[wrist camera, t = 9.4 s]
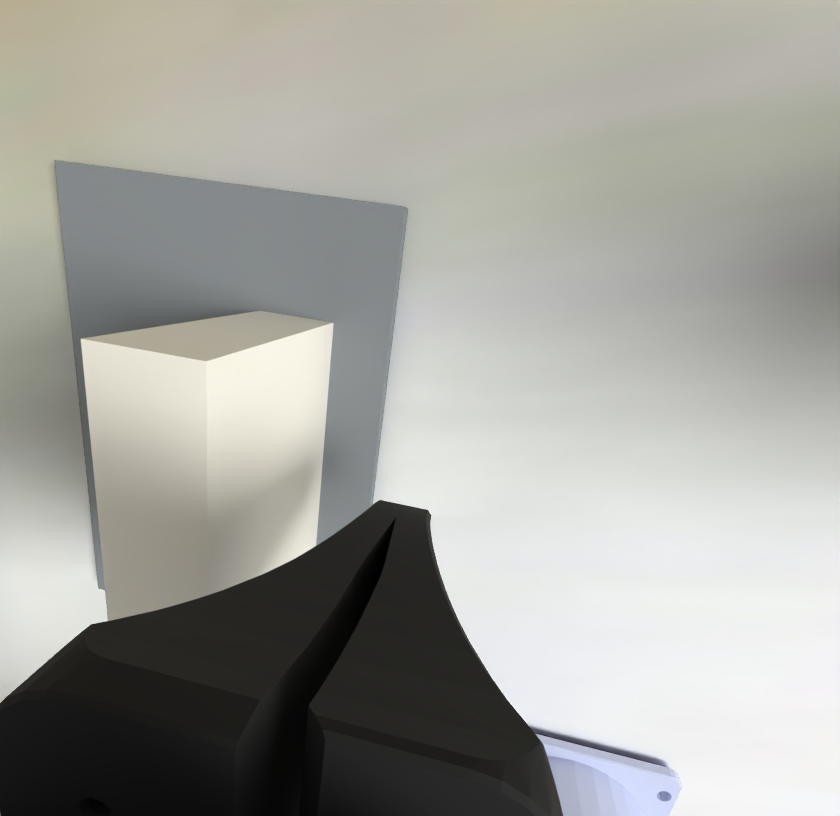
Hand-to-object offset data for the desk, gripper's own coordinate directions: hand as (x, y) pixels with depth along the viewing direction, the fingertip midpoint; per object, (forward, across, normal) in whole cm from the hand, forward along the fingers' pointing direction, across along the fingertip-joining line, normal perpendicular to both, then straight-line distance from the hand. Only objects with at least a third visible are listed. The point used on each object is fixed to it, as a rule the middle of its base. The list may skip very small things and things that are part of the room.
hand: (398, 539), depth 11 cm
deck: (+4, +5, 0) cm, 6 cm away
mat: (+4, +7, 0) cm, 8 cm away
